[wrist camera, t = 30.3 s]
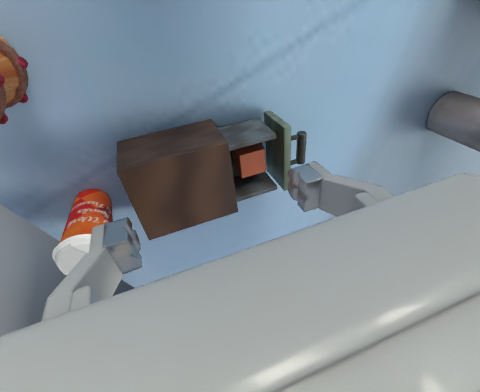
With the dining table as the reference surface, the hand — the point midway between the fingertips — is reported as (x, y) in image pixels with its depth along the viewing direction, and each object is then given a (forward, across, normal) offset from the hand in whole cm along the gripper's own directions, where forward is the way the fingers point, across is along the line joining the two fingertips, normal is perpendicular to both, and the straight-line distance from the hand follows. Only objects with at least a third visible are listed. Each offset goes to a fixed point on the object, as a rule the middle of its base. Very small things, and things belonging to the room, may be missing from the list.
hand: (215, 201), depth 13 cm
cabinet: (+33, +1, +16) cm, 37 cm away
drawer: (+32, -13, +16) cm, 38 cm away
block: (+31, -12, +16) cm, 37 cm away
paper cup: (+33, +16, +19) cm, 42 cm away
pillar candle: (+33, -64, +21) cm, 75 cm away
